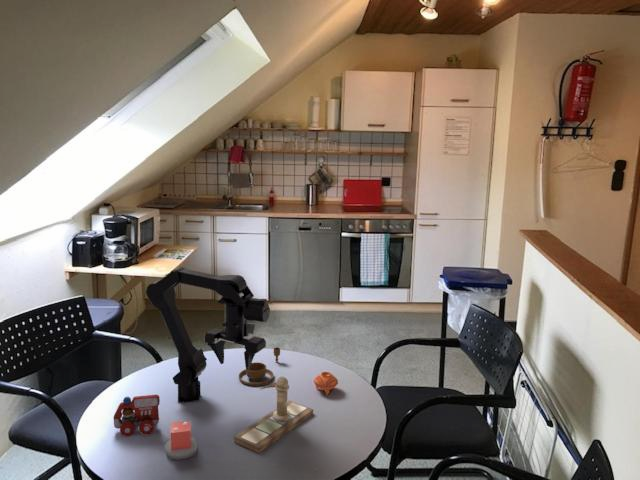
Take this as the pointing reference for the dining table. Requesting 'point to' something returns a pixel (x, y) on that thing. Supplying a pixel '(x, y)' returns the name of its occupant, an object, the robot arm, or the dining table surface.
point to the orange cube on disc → (181, 441)
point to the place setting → (259, 372)
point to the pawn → (281, 400)
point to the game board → (272, 428)
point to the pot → (325, 381)
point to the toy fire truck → (137, 414)
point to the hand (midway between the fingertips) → (234, 366)
